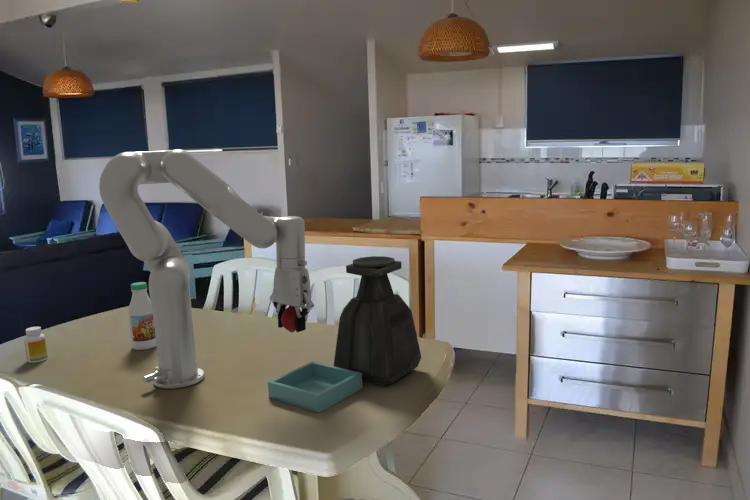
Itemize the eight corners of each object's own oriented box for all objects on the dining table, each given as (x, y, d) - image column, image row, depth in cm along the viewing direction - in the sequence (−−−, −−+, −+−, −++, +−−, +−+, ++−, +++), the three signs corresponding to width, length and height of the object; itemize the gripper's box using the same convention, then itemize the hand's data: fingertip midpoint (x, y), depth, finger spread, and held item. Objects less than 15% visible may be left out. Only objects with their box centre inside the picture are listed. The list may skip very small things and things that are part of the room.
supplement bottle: (52, 358, 183) (47, 326, 182) (35, 364, 179) (30, 331, 177) (39, 356, 186) (35, 324, 184) (23, 362, 181) (18, 330, 179)
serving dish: (319, 412, 139) (318, 395, 138) (268, 397, 148) (267, 381, 147) (362, 388, 151) (361, 372, 151) (313, 376, 161) (312, 361, 160)
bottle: (331, 377, 159) (325, 263, 154) (368, 358, 172) (363, 252, 167) (390, 391, 149) (385, 269, 144) (424, 369, 162) (421, 257, 157)
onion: (298, 336, 164) (298, 306, 162) (278, 334, 165) (277, 305, 164) (305, 330, 169) (305, 301, 168) (285, 328, 171) (284, 300, 169)
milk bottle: (126, 349, 189) (119, 285, 185) (144, 341, 196) (137, 279, 192) (146, 351, 186) (139, 286, 182) (164, 343, 193) (157, 281, 189)
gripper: (324, 264, 162) (325, 331, 165) (277, 257, 172) (278, 320, 175) (305, 269, 156) (306, 337, 159) (257, 261, 166) (259, 326, 169)
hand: (291, 328), depth 167 cm, fingers closed on onion, 5 cm apart
